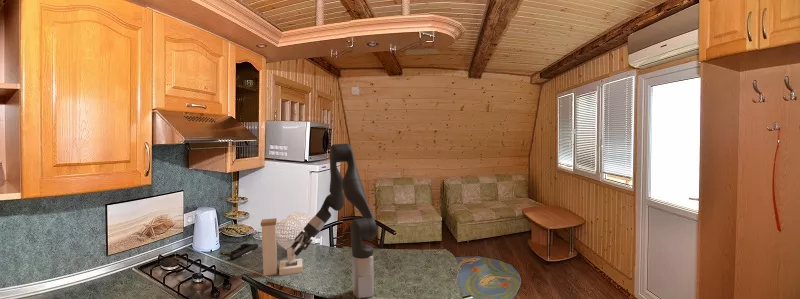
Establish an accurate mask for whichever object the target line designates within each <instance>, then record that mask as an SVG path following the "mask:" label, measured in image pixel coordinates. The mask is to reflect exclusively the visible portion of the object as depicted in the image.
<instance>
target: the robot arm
mask: <svg viewBox="0 0 800 299" xmlns="http://www.w3.org/2000/svg"><path fill="white" fill-rule="evenodd" d="M353 150H354V149H353V147H352V146H351V144H350V143H334V144H331V146H330V147H329V169H330V170H329V173H330V183H329V193H330V194H328V195H327V196H326V197H325V199H324V201H323V203H322V205H321V206H320V209H319V210H318V211H317V212H316V214H315V215H314V216H312V218H310V219H311V220H309V221H308V222H309V223H308V222H307V223H308V224H307V225H306V226H305V227H304V231H305V232H303V231H301V230H300V233H299V235H298V234H297V235H298V236H297V237H296V238H293V239H294V240H295V241H294V242H293V244H292V246H290V247H295V249H296V246H297V244H299V243H300V246H299V247H298V249H297V250H296V251H295V252H294V254H295V257H296V256H299V254H300V253H301V252H302V251H306V250H307V249H308V247H309V246H310V245H311V243H312V242H313V239H312V238H315V237H316V236H317V235H318V234H319V232H321V230H322V229H323V228H324V226H325V225H326V224H327V222H328V221H329V220H330V218H331V217H332V214H331V211H329V210H330V208H331V209H333V210H334V211H336V212H337V211H341V210H342V209H343V207H344V205H345V199H346V200H347V201H348V202H349V203H350V204H351V205H353V207H355V208H356V209H357V210H358V212H359V213H360V214H361V216H362V217H361V218H355V219H352V220H351V222H350V226H349V227H350V241H351V242H350V243H351V254H352V255H351V256H352V257H351V260H352V262H351V263H352V264H351V265H352V295H353V296H354V297H356V298H357V299H365V298H371V297H373V294H374V292H375V285H374V284H375V280H374V272H375V270H374V269H375V267H374V264H375V263H374V248H373V246H372V245H370V244H369V245H368V244H366V243H365V244H364V243H362V241H365V240H370V239H374V238H375V237H377V235H378V225H377V223H376V220H375V217H374V215H373V212H372V210H371V207H370V205H369V202H368V200H367V196H366V192H365V189H364V185H363V183H362V179H361V177H360V173H359V171H358V168H357V164H356V163H357V162H356V158H355V154H354V151H353ZM345 162H346V163H347V168H346V172H345V174H344V176H343V175H342V174H341V172H340V171H339V169H338V166H337V165H338V164H337V163H345ZM344 197H345V198H344Z"/></svg>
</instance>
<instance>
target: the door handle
mask: <svg viewBox="0 0 800 299" xmlns="http://www.w3.org/2000/svg"><path fill="white" fill-rule="evenodd" d="M258 248H259V244H258V243H254V244H253V243H242V244H240V247H237V248H236V249H234V250H232V251H231V250H222V251H221V252H220V254H221V253H225V254H231V255H232V256H231V255H229V256H230V257H229V259H230V260H231V259H232V260H231V261H234V259H235V260H237V259H239V258H241V256H242V257H244V256H246V255H247V254H250V253H252V252H253V251H254V250H256V249H258ZM245 254H246V255H245ZM243 255H244V256H243Z"/></svg>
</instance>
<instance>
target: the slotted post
mask: <svg viewBox="0 0 800 299" xmlns="http://www.w3.org/2000/svg"><path fill="white" fill-rule="evenodd" d="M277 220H278V219H277V218H274V217H273V218H264V219H261V221H260V227H261V236H262V237H261V242H262V244H261V245H262V268H263V276H270V275H277V272H278V273H279V274H278V275H279V276H285V275H293V274H300V273H302V274H303V272H304V271H303V269H304V268H303V258H295V261H296V266H288V267H287V259H285V260H280V261H279V262H280V263H279V269H278V249H277V241H276V235H277V230H276V225H277V224H276V223H277V222H278V221H277ZM278 270H279V271H278Z"/></svg>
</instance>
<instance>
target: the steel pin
mask: <svg viewBox="0 0 800 299" xmlns="http://www.w3.org/2000/svg"><path fill="white" fill-rule="evenodd" d="M286 249H287V250H286V260H287V267H288V266H296V261H295V259H296V255H295V254H294V252H295V249H296V248H295V247H291V246H290V248H286Z"/></svg>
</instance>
